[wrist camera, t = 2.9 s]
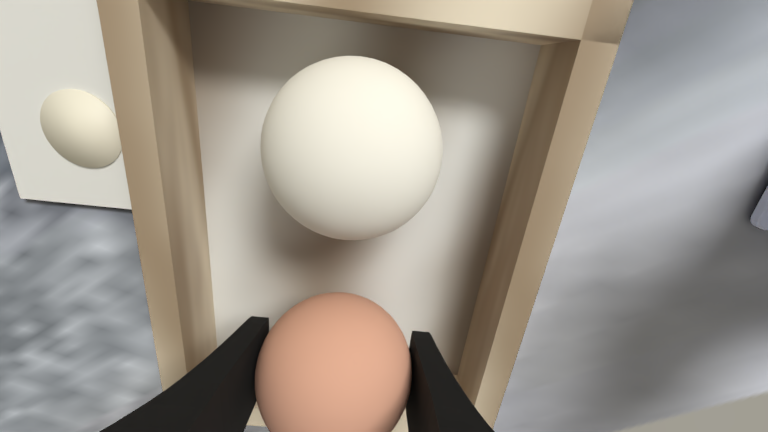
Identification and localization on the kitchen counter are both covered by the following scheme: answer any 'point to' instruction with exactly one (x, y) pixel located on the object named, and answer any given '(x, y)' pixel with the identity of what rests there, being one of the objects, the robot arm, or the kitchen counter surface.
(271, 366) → the terracotta ball
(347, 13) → the two-well rack
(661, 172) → the kitchen counter surface
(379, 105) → the cream ball
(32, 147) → the card
